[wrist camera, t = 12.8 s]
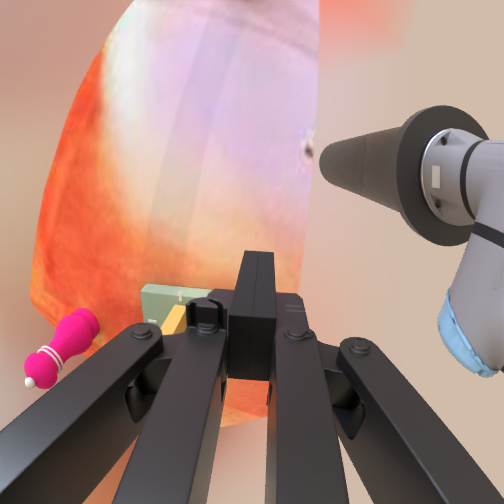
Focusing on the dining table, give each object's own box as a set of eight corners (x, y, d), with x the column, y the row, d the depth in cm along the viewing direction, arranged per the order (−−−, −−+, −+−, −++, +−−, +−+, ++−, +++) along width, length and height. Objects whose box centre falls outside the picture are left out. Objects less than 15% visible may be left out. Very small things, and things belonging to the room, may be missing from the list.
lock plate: (228, 287, 42) (225, 296, 39) (226, 347, 46) (224, 358, 43) (146, 279, 43) (138, 287, 40) (153, 337, 46) (147, 348, 43)
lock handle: (174, 304, 40) (155, 335, 33) (187, 305, 40) (171, 337, 32) (177, 342, 43) (161, 376, 35) (189, 344, 42) (175, 378, 35)
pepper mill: (108, 335, 47) (53, 405, 28) (84, 340, 48) (30, 403, 29) (89, 302, 45) (23, 365, 26) (66, 309, 46) (4, 367, 27)
